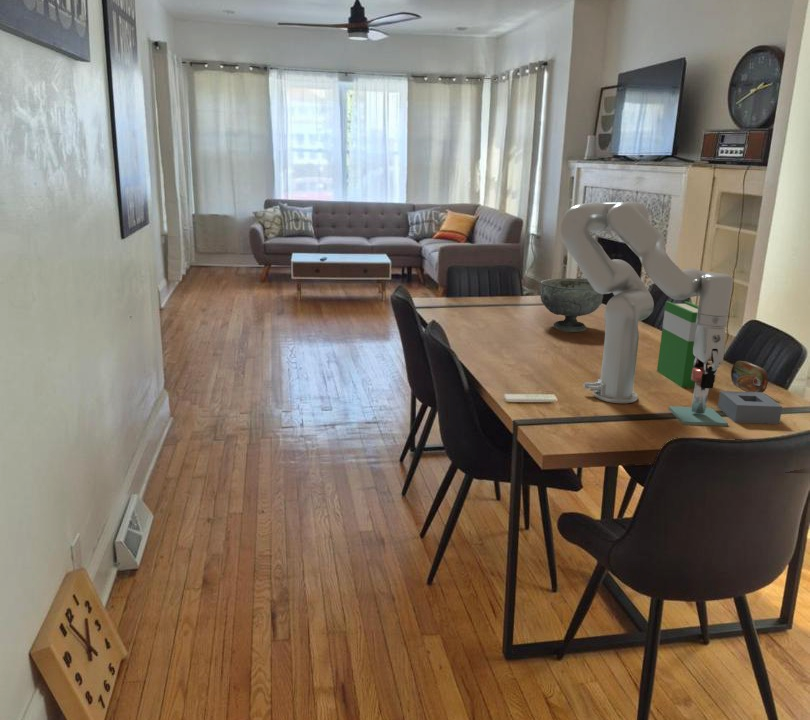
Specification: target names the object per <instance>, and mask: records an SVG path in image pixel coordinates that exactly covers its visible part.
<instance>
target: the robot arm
mask: <svg viewBox="0 0 810 720" xmlns="http://www.w3.org/2000/svg"><path fill="white" fill-rule="evenodd" d="M649 219H650V217H649V211H648V209H647V208H646V206H645V205H644V204H642V203H640V202H639V201H624V202H623V201H622V202H621V201H620V202H617V201H616V202H588V203H586V202H585V203H578V204H575V205H573V206H572V207H569V209H567V211H566V212H565V213H564V215H563V217H562V219H561V222H560V237H561V240H562V243H563V244H564V245H563V246H564V247H565V248H566V250H567V252H568V253H569V255H570V256H571V257H572V259H573V260H574V261H575V263H576V265H577V267H579V270H580V271H581V272H582V274H583V275H584V277H585V279H587V280H588V282H589V283H590V285H591V286H592V288H593V289H594V290H595V291H596V292H597V293H600V294H603V295H608V294H612V295H613V296H612V297H611V298H610V299H609V300H608V301H607V303H606V306H605V308H604V323H605V324H604V326H605V330H604V331H605V332H604V344H603V353H602V363H601V371H600V372H601V373H600V378H597V381H593V382H589V381H588V382H583V389H584V390H586V389H588V390H589V391H593V396H594V397H595V398H596V399H598V400H600V401H603V402H607V403H613V404H631V403H634V402H637V400H638V394H637V393H636V392H635V391H634V383H635V382H634V381H635V377H636V376H635V375H636V366H637V360H638V359H637V358H638V350H639V341H640V340H639V339H640V336H639V322H641V321H644V320H645V319H647V318H649V316H651V314H652V313H653V311H654V306H655V303H654V299H653V296H652V294H651V293H650V291H649V290H648V288H647V287H646V285H645V284H644V282H643V281H642V279H641V278H640V275H638V273H637V272H636V271H635V268H634V267H633V266H631V265H630V263H628V262H627V261H625V260H623V259H617V258H616V259H615V258H613V259H611V258H610V256H609V255H608V254H607V253H606V251H605V250H604V248H603V246H602V245H601V244H600V243H599V242H598V241H597V240H596V238H594V236H593V235H592V234H591V233H595V232H614V234H616V236H617V237H618V238H619V239H620V240H622V242H624V243H625V245H626V246H628V247H629V249H630V250H631V251H632V253H634V254H635V255H636V256H637V257H638V258H639V261H640V264H641V266H642V267H643V269H644V272H646V273H645V274H646V275H647V276H648V278H649V279H650V280H651V281H652V282H653V283H654V284H655V285H656V286H657V288H659V289H660V290H661V291H662V292H663V294H665V295H666V296H667V297H668V298H671V299H672V300H675V301H683V300H687V299H689V298H694V297H699V300H698V305H697V306H698V312H697V319H696V324H697V325H698V326H697V330H696V334H695V339H694V346H693V354H694V359H695V360H694V364H693V365H694V367H703V366H704V373H702V379H701V386H700V387H701V388H709V389H713V388H714V383H715V382H714V378H715V379H716V376H717V370H718V369H719V368H720V365H721V364H723V361H724V355H725V354H724V353H725V343H726V328H727V324H728V323H727V322H728V316H729V311H730V304H731V300H732V298H731V296H732V291H733V284H734V279H733V277H732V276H731V275H729V274H726V273H721V272H720V273H719V272H708V271H705V270H699V269H696V268H688V269H683V270H682V269H681V268H680V267H679V266H678V265H677V264H676V263H675V262H674V261H673V260H672V259H671V257H670V256H669V255H668V253H667V252H666V249H665V237H664V235H663V234H662V233H661V232H660V231H659V230H658V229H657V228H656V227H655V226H654V225H653V223H651V222H650V221H649ZM710 361H711V362H710ZM707 362H708V363H707ZM708 366H709V367H708ZM694 367H693V368H694ZM715 375H716V376H715Z"/></svg>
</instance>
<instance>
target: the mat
mask: <svg viewBox="0 0 810 720" xmlns="http://www.w3.org/2000/svg"><path fill="white" fill-rule="evenodd" d="M691 408H692V406H670V405H669V406H668V410H669V411H670V412H671V413H672V414H673V416H675V419H677V420H678V421H679V422H680V423H681V424H682V425H691V426H693V425H695V426H697V425H698V426H716V427H717V426H719V427H720V426H721V427H723V426H724V427H729V422H728V421H726V419H724V418H723V417H722V416H721V415H720V413H718V412H717V411H716V410H715V409H713V408H712V407H706V410H705V413H703V414H699V413H694V412H692V411H691Z"/></svg>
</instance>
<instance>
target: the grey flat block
mask: <svg viewBox="0 0 810 720" xmlns="http://www.w3.org/2000/svg"><path fill="white" fill-rule="evenodd" d="M717 408H718V409H719V410H720V411H723V412H722V413H724V412H725V413H726V414H725V413H724V414H725V415H726V416H727V417H728V418H729V419H731V421H732V422H733V423H744V424H745V423H746V424H747V423H748V424H776V425H780V422H781V417H782V411H783V406H782V405H781V404H780V403H778V402H777V401H775V400H774V399H772V397H770V396H768V395H767V394H765V393H764V392H747V391H734V390H733V391H732V390H731V391H729V390H720V391H719V397H718V402H717Z"/></svg>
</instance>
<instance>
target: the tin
mask: <svg viewBox="0 0 810 720" xmlns="http://www.w3.org/2000/svg"><path fill="white" fill-rule="evenodd" d="M730 371H731V372H730V378H731V381H732V383H733V385H734V386H735V387H737V388H739V389H741V390H743V391H744V392H763V393H764V392H765V391H766V389H767V387H768V383H769V376H768V375H769V374H768V372H767V371H766V370H765V368H763V367H761V366H758V365H756V364H753V363H751V362H750V361H742V360H738V361H736V362H734V364H733V365H732V367H731V370H730Z"/></svg>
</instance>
